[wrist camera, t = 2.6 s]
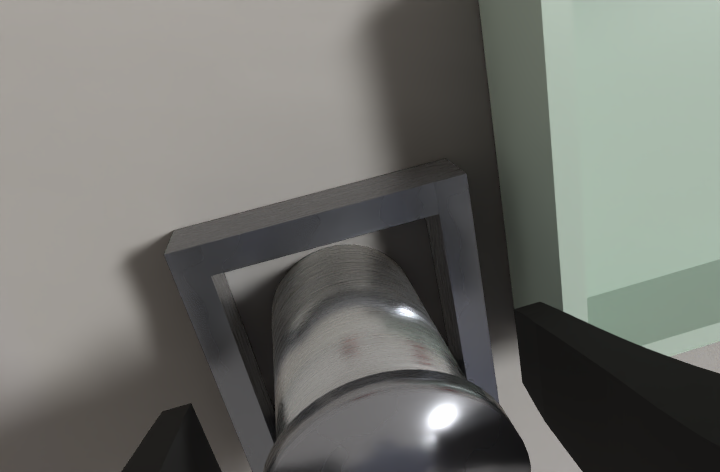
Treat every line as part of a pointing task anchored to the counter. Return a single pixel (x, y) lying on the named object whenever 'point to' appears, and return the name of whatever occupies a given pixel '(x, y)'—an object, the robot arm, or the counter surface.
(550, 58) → the bin
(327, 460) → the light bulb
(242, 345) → the socket collar
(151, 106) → the counter surface
